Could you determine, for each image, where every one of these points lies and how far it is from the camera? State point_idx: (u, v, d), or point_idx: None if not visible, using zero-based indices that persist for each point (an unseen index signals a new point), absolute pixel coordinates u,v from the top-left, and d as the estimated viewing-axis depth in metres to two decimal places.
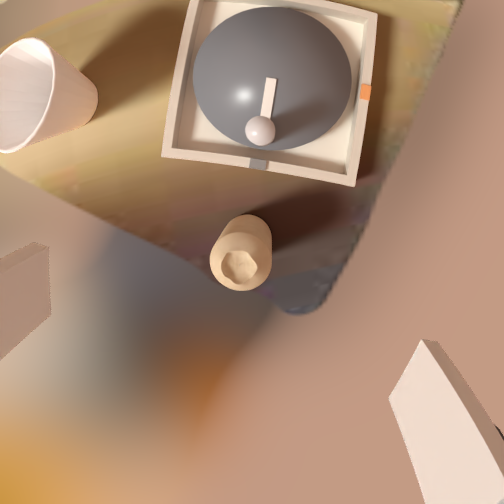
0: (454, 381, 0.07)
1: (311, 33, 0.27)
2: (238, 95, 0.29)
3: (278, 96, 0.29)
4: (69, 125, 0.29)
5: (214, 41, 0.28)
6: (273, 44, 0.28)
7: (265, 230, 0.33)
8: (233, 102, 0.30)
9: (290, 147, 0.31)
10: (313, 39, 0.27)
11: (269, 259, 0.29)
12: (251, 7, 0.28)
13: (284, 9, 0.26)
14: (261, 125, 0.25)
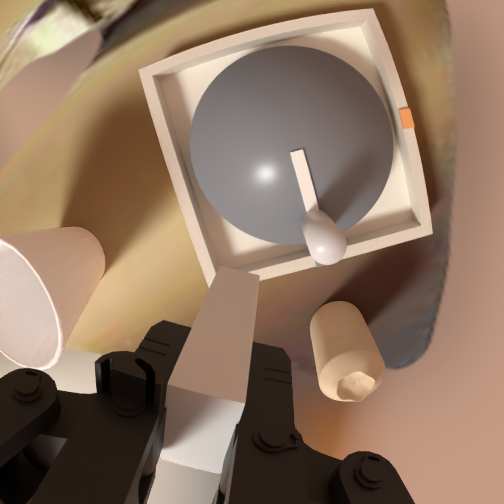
0: (239, 300, 0.10)
1: (314, 69, 0.22)
2: (267, 189, 0.25)
3: (314, 170, 0.24)
4: (88, 298, 0.27)
5: (203, 131, 0.24)
6: (277, 104, 0.23)
7: (358, 321, 0.27)
8: (265, 200, 0.25)
9: (352, 224, 0.25)
10: (320, 77, 0.22)
11: (381, 363, 0.23)
12: (221, 62, 0.24)
13: (266, 51, 0.21)
14: (327, 239, 0.20)
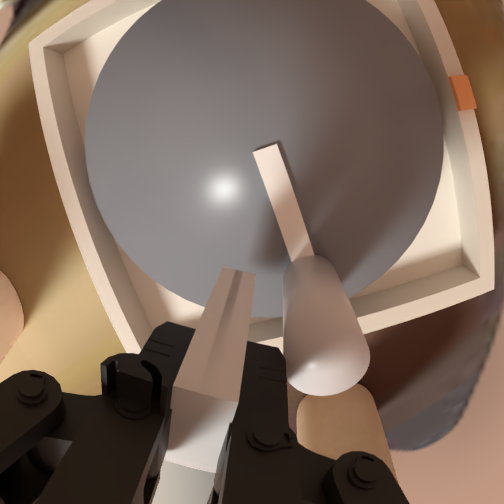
0: (235, 299, 0.09)
1: (289, 1, 0.10)
2: (216, 223, 0.14)
3: (302, 182, 0.13)
4: None
5: (103, 131, 0.13)
6: (224, 66, 0.12)
7: (368, 422, 0.16)
8: (214, 243, 0.14)
9: (376, 276, 0.14)
10: (301, 12, 0.11)
11: None
12: None
13: None
14: (325, 352, 0.08)
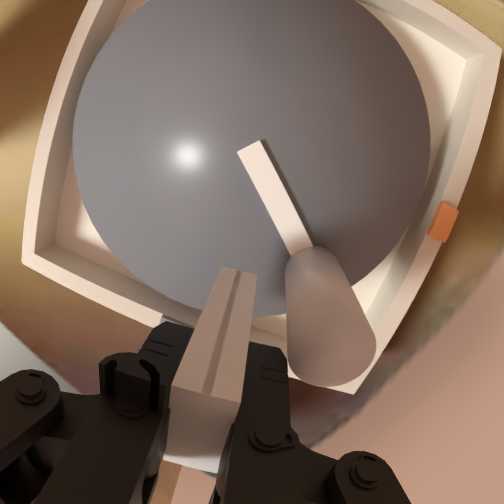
0: (236, 300, 0.10)
1: None
2: (211, 227, 0.14)
3: (290, 174, 0.13)
4: None
5: (90, 152, 0.13)
6: (197, 72, 0.12)
7: None
8: (212, 247, 0.14)
9: (379, 260, 0.13)
10: (266, 7, 0.11)
11: (165, 503, 0.13)
12: None
13: None
14: (328, 340, 0.08)
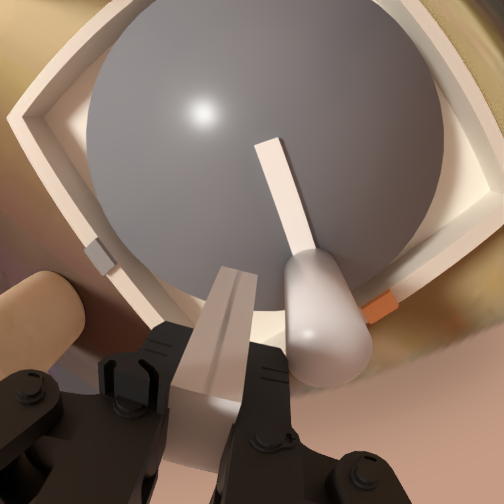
0: (237, 300, 0.10)
1: None
2: (217, 216, 0.14)
3: (303, 175, 0.13)
4: None
5: (104, 125, 0.13)
6: (225, 60, 0.12)
7: (56, 341, 0.16)
8: (216, 237, 0.14)
9: (377, 270, 0.14)
10: (302, 7, 0.10)
11: None
12: None
13: None
14: (327, 342, 0.08)
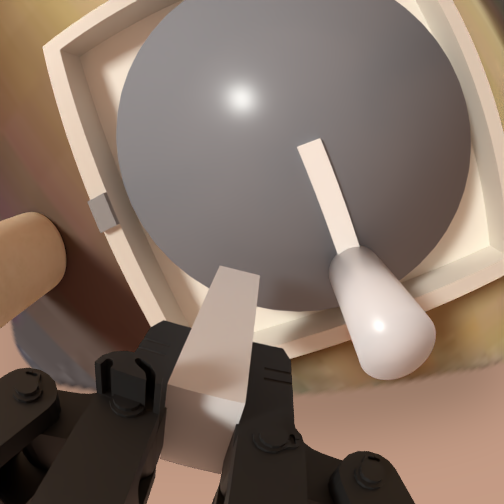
0: (239, 300, 0.10)
1: None
2: (262, 219, 0.14)
3: (345, 175, 0.13)
4: None
5: (136, 129, 0.13)
6: (262, 62, 0.11)
7: (32, 288, 0.15)
8: (260, 239, 0.14)
9: (416, 264, 0.14)
10: (334, 9, 0.10)
11: None
12: None
13: None
14: (397, 335, 0.08)
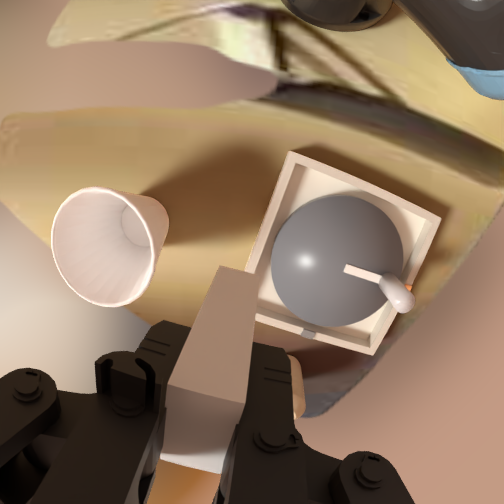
0: (239, 300, 0.10)
1: (307, 225, 0.35)
2: (352, 295, 0.38)
3: (361, 264, 0.36)
4: None
5: (297, 306, 0.38)
6: (313, 260, 0.37)
7: (300, 377, 0.41)
8: (356, 299, 0.38)
9: (402, 262, 0.36)
10: (314, 224, 0.35)
11: (304, 409, 0.37)
12: (337, 183, 0.36)
13: (277, 244, 0.36)
14: (402, 301, 0.31)
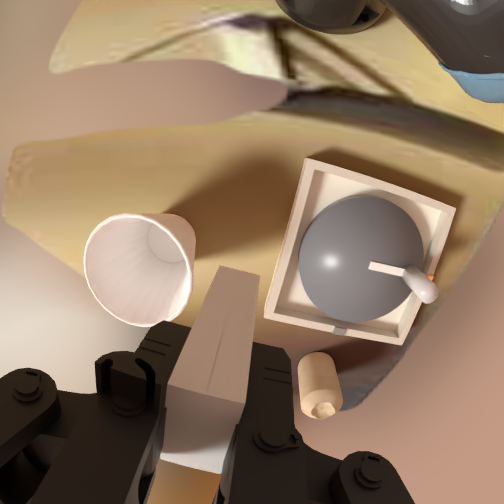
0: (239, 300, 0.10)
1: (330, 228, 0.36)
2: (378, 290, 0.38)
3: (384, 260, 0.37)
4: None
5: (327, 306, 0.39)
6: (339, 261, 0.38)
7: (335, 372, 0.42)
8: (382, 293, 0.38)
9: (422, 254, 0.37)
10: (337, 227, 0.36)
11: (341, 403, 0.38)
12: (354, 184, 0.37)
13: (303, 248, 0.37)
14: (426, 292, 0.32)
